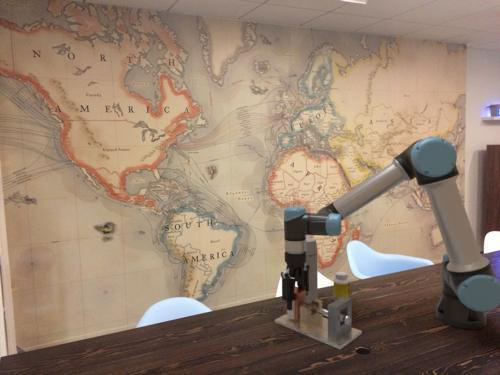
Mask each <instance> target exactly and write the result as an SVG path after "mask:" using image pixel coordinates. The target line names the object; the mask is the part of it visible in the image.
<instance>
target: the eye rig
mask: <svg viewBox="0 0 500 375" xmlns="http://www.w3.org/2000/svg"><path fill="white" fill-rule="evenodd" d="M352 301H353V300H352V298H350V297H349V298H347V297H344V296H343V297H341V298H339V299H338V300H336V301H335V300H334V301H333V302H331V303H329V304H327V310H328V316H327V317H324V315H322V314H319V313H316V312H313V311H311V306H308V305H305V304H303V305H301V306H300V318H299V319H296V318H295V319H294V320H293V319H290V318H288V316H287V315H286V313H285V314H283V315H281V316H279V317H278V318H275V319H274V323H275V324H278V325H281V326H282V327H285V328H286V329H290V330H292V331H294V332H297V333H299V334H301V335H305V336H307V337H309V338H311V339H314V340H316V341H319V342H321V343H323V344H326V345H328V346H330V347H333V348H336V349H338V350H341V349H343V348H345V347H346V346H347V345H349V344H350V343H352V342H353V341H354V340H355V339H357V338H358V337H359V336H360V335H362V333H363V332H362V331H363V330H361V329H357V328H354V327H352V324H353V323H352V316H353V315H352V313H353V311H352V310H353V309H352V308H353V307H352ZM312 305H315V306H318V307H321V308H323V300H321V299H319V298H318V299H316V298H315V299H313V300H312ZM340 314H341V315H348V316H350V317H351V323H350V324H348V325H347V324H344V323H343V322H342V321H340Z"/></svg>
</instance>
